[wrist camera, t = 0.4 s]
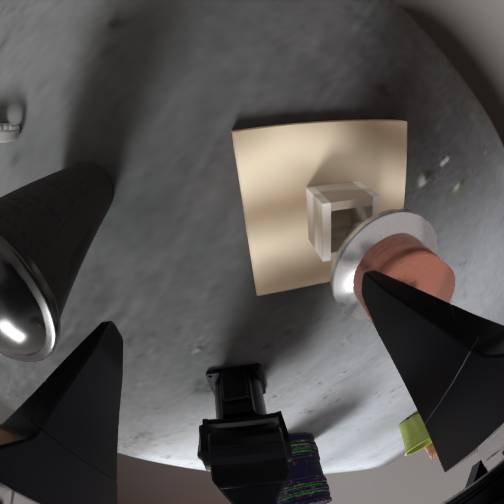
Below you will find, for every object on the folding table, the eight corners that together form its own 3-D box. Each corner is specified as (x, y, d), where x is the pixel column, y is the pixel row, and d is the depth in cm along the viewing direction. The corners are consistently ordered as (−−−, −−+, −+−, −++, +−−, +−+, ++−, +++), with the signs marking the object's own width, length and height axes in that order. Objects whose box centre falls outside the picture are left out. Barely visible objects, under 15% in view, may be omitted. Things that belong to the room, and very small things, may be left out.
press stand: (390, 261, 27) (414, 286, 23) (255, 289, 26) (263, 323, 22) (400, 119, 20) (434, 128, 16) (231, 130, 19) (236, 138, 15)
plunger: (396, 270, 20) (448, 333, 14) (311, 290, 20) (348, 370, 14) (406, 182, 16) (482, 231, 10) (308, 194, 16) (365, 258, 10)
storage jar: (263, 438, 44) (277, 510, 31) (316, 427, 45) (337, 496, 32) (265, 454, 49) (277, 515, 36) (311, 445, 50) (327, 504, 37)
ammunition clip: (414, 430, 62) (428, 461, 52) (419, 427, 62) (433, 457, 51) (429, 427, 66) (443, 455, 56) (433, 424, 65) (447, 452, 55)
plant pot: (404, 414, 52) (418, 443, 44) (431, 405, 53) (445, 430, 46) (387, 432, 56) (398, 459, 49) (413, 423, 58) (425, 447, 50)
